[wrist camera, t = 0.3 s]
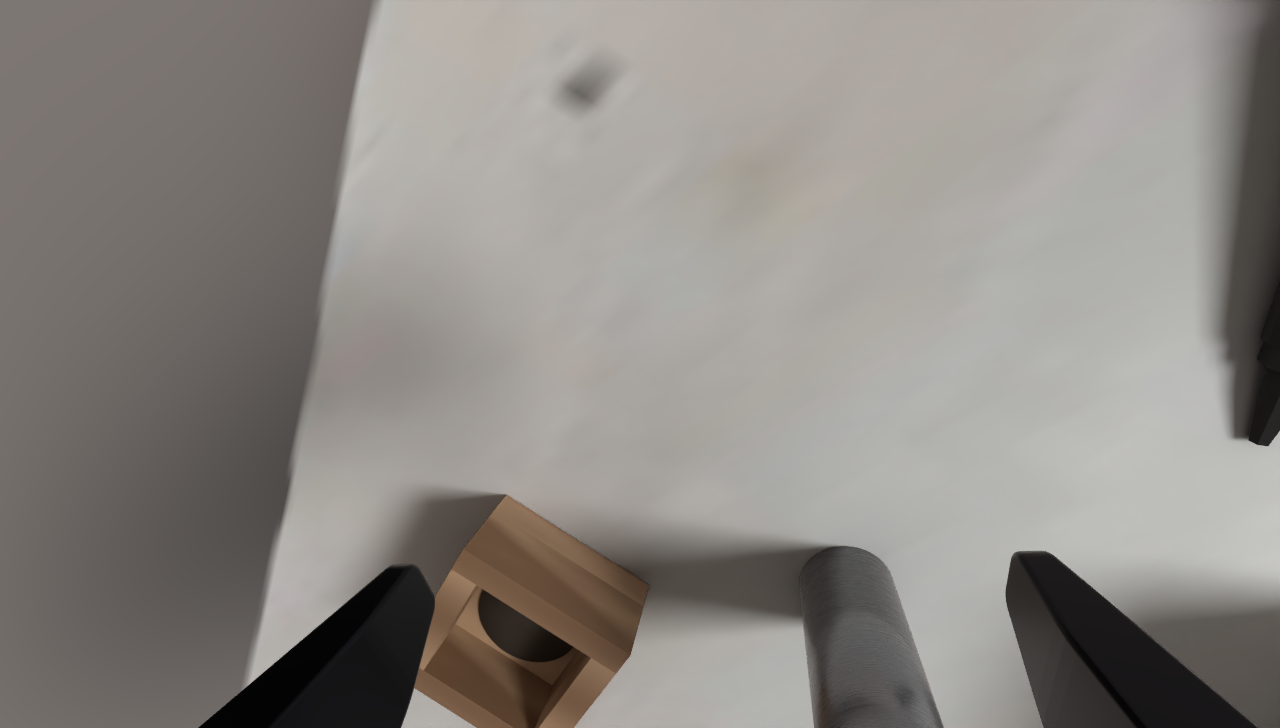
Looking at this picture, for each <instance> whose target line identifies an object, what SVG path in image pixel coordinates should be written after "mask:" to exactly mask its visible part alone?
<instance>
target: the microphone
mask: <svg viewBox="0 0 1280 728" xmlns="http://www.w3.org/2000/svg"><path fill="white" fill-rule="evenodd" d="M1261 338H1262V339H1263V340H1264V341H1265V343H1264V345H1263V347H1262V350H1261V352H1260V354H1259V356H1258V359H1257V360H1258V361H1260V362H1261V363H1262V364H1264V365H1265V366H1266V367H1267V368H1269V369H1268V372H1267V374H1266V377H1265V380H1264V383H1263V385H1262V388H1261V391H1260V394H1259V398H1258V403H1257V407H1256V411H1255V416H1254V420H1253V424H1252V428H1251V433H1250V437H1249V441H1251V442H1253V443H1255V444H1257V445H1263V446H1269V444H1270V443H1271V442H1272V440H1273V439H1274V438H1275V436H1276V435H1277V434H1278V432H1279V431H1280V284H1279V287H1278V289H1277V292H1276V295H1275V298H1274V301H1273V304H1272V307H1271V309H1270V312H1269V315H1268V318H1267V321H1266V324H1265V327H1264V330H1263V332H1262V335H1261Z"/></svg>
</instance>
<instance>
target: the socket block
mask: <svg viewBox="0 0 1280 728" xmlns="http://www.w3.org/2000/svg"><path fill="white" fill-rule="evenodd" d="M648 588H649V585H648V584H646V583H644V582H643V581H641V580H640V579H638V578H637V577H635V576H633V575H632V574H630V573H629V572H627V571H626V570H624V569H622V568H621V567H619V566H618V565H616V564H615V563H613V562H611V561H610V560H608V559H607V558H605V557H603V556H602V555H600V554H599V553H597V552H596V551H594V550H592V549H591V548H589V547H588V546H586V545H585V544H583V543H581V542H580V541H578V540H577V539H575V538H574V537H572V536H570V535H569V534H567V533H566V532H564V531H563V530H561V529H559V528H558V527H556V526H555V525H553V524H551V523H550V522H548V521H547V520H545V519H544V518H542V517H540V516H539V515H537V514H536V513H534V512H533V511H531V510H529V509H528V508H526V507H525V506H523V505H522V504H520V503H518V502H517V501H515V500H514V499H512V498H511V497H509V496H507V495H506V496H505V497H504V499H503V500H502V501H501V502H500V504H499V505H498V506H497V507H496V509H495V510H494V511H493V512H492V514H491V515H490V516H489V517H488V519H487V520H486V521H485V522H484V524H483V525H482V526H481V527H480V529H479V530H478V531H477V532H476V534H475V535H474V536H473V537H472V539H471V540H470V541H469V542H468V544H467V545H466V546H465V547H464V549H463V550H462V552H461V554H460V555H459V557H458V559H457V560H456V562H455V564H454V566H453V567H452V569H451V571H450V572H449V574H448V576H447V578H446V579H445V581H444V583H443V584H442V586H441V588H440V589H439V591H438V593H437V595H436V596H435V609H434V614H433V618H432V621H431V625H430V629H429V633H428V637H427V641H426V644H425V648H424V652H423V656H422V660H421V664H420V667H419V671H418V675H417V679H416V683H415V686H414V688H415V689H417V690H418V691H420V692H422V693H423V694H425V695H426V696H428V697H429V698H431V699H433V700H434V701H436V702H437V703H439V704H440V705H442V706H444V707H445V708H447V709H448V710H450V711H451V712H453V713H455V714H456V715H458V716H459V717H461V718H462V719H464V720H466V721H467V722H469V723H470V724H472V725H473V726H475V727H477V728H574V726H575V725H576V724H577V723H578V721H579V720H580V719H581V718H582V716H583V715H584V714H585V712H586V711H587V710H588V709H589V707H590V706H591V705H592V704H593V702H594V701H595V700H596V698H597V697H598V696H599V695H600V693H601V692H602V691H603V690H604V688H605V687H606V686H607V684H608V683H609V682H610V681H611V679H612V678H613V677H614V676H615V674H616V673H617V672H618V670H619V669H620V668H621V667H622V665H623V664H624V663H625V662H626V660H627V659H628V658H629V656H630V655H631V651H632V648H633V644H634V640H635V636H636V633H637V629H638V625H639V621H640V618H641V614H642V610H643V606H644V603H645V599H646V595H647V591H648Z"/></svg>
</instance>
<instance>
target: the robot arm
mask: <svg viewBox="0 0 1280 728" xmlns="http://www.w3.org/2000/svg"><path fill="white" fill-rule="evenodd" d="M1006 603H1007V607H1008V611H1009V614H1010V618H1011V621H1012V624H1013V628H1014V631H1015V634H1016V638H1017V641H1018V645H1019V648H1020V651H1021V655H1022V658H1023V661H1024V665H1025V668H1026V671H1027V675H1028V678H1029V681H1030V685H1031V688H1032V691H1033V695H1034V698H1035V701H1036V705H1037V708H1038V711H1039V714H1040V717H1041V720H1042V724H1043V726H1044V728H1259V727H1258V726H1257V725H1256V724H1254V723H1253V722H1252V721H1251V720H1250V719H1248V718H1247V717H1246V716H1245V715H1244V714H1242V713H1241V712H1240V711H1239V710H1238V709H1237V708H1235V707H1234V706H1233V705H1232V704H1231V703H1229V702H1228V701H1227V700H1226V699H1225V698H1223V697H1222V696H1221V695H1220V694H1219V693H1217V692H1216V691H1215V690H1214V689H1213V688H1211V687H1210V686H1209V685H1208V684H1207V683H1205V682H1204V681H1203V680H1202V679H1201V678H1200V677H1198V676H1197V675H1196V674H1195V673H1194V672H1192V671H1191V670H1190V669H1189V668H1188V667H1186V666H1185V665H1184V664H1183V663H1182V662H1180V661H1179V660H1178V659H1177V658H1176V657H1174V656H1173V655H1172V654H1171V653H1170V652H1168V651H1167V650H1166V649H1165V648H1164V647H1163V646H1161V645H1160V644H1159V643H1158V642H1157V641H1155V640H1154V639H1153V638H1152V637H1151V636H1149V635H1148V634H1147V633H1146V632H1145V631H1143V630H1142V629H1141V628H1140V627H1139V626H1137V625H1136V624H1135V623H1134V622H1133V621H1131V620H1130V619H1129V618H1128V617H1127V616H1125V615H1124V614H1123V613H1122V612H1121V611H1120V610H1118V609H1117V608H1116V607H1115V606H1114V605H1112V604H1111V603H1110V602H1109V601H1108V600H1106V599H1105V598H1104V597H1103V596H1102V595H1100V594H1099V593H1098V592H1097V591H1096V590H1094V589H1093V588H1092V587H1091V586H1090V585H1088V584H1087V583H1086V582H1085V581H1084V580H1083V579H1081V578H1080V577H1079V576H1078V575H1077V574H1075V573H1074V572H1073V571H1072V570H1071V569H1069V568H1068V567H1067V566H1066V565H1065V564H1063V563H1062V562H1061V561H1060V560H1059V559H1057V558H1056V557H1055V556H1054V555H1052V554H1050V553H1048V552H1046V551H1018V552H1015V553H1014V554H1013V555H1012V558H1011V562H1010V568H1009V574H1008V580H1007V585H1006ZM434 609H435V598H434V594H433V592H432V590H431V589H430V587H429V585H428V583H427V581H426V580H425V578H424V576H423V574H422V572H421V571H420V569H419V568H418V567H417V566H416V565H414V564H396V565H392V566H390V567H388V568H387V569H385V570H384V571H383V572H382V573H381V574H379V575H378V576H377V577H376V578H375V579H374V580H372V581H371V582H370V583H369V584H368V585H366V586H365V587H364V588H363V589H362V590H361V591H359V592H358V593H357V594H356V595H355V596H353V597H352V598H351V599H350V600H349V601H348V602H346V603H345V604H344V605H343V606H342V607H340V608H339V609H338V610H337V611H336V612H335V613H333V614H332V615H331V616H330V617H329V618H327V619H326V620H325V621H324V622H323V623H322V624H320V625H319V626H318V627H317V628H316V629H314V630H313V631H312V632H311V633H310V634H309V635H307V636H306V637H305V638H304V639H303V640H302V641H300V642H299V643H298V644H297V645H296V646H294V647H293V648H292V649H291V650H290V651H289V652H287V653H286V654H285V655H284V656H283V657H281V658H280V659H279V660H278V661H277V662H276V663H274V664H273V665H272V666H271V667H270V668H268V669H267V670H266V671H265V672H264V673H263V674H261V675H260V676H259V677H258V678H257V679H255V680H254V681H253V682H252V683H251V684H250V685H248V686H247V687H246V688H245V689H244V690H242V691H241V692H240V693H239V694H238V695H237V696H235V697H234V698H233V699H232V700H231V701H229V702H228V703H227V704H226V705H225V706H224V707H222V708H221V709H220V710H219V711H218V712H216V714H214V715H213V716H212V717H211V718H209V719H208V720H207V721H206V722H205V723H203V724H202V725H201V726H200V727H199V728H401V726H402V724H403V721H404V718H405V715H406V712H407V709H408V706H409V703H410V700H411V697H412V693H413V690H414V686H415V683H416V679H417V675H418V671H419V667H420V664H421V660H422V656H423V652H424V648H425V644H426V641H427V637H428V633H429V629H430V625H431V621H432V618H433V614H434Z"/></svg>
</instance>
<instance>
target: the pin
mask: <svg viewBox="0 0 1280 728" xmlns="http://www.w3.org/2000/svg"><path fill="white" fill-rule="evenodd" d="M799 589H800V598H801V608H802V617H803V627H804V636H805V645H806V655H807V664H808V674H809V683H810V693H811V702H812V712H813V721H814V728H944V727H943V724H942V721H941V718H940V715H939V712H938V710H937V707H936V704H935V701H934V698H933V695H932V692H931V689H930V686H929V683H928V680H927V678H926V675H925V672H924V669H923V666H922V663H921V660H920V657H919V654H918V651H917V648H916V645H915V643H914V640H913V637H912V634H911V631H910V628H909V625H908V622H907V619H906V616H905V613H904V610H903V608H902V605H901V602H900V599H899V596H898V593H897V590H896V587H895V584H894V581H893V578H892V576H891V573H890V571H889V570H888V568H887V566H886V565H885V564H884V563H883V562H882V561H881V560H880V559H879V558H878V557H876V556H875V555H873V554H871V553H870V552H867V551H865V550H862V549H859V548H854V547H835V548H830V549H827V550H824V551H822V552H820V553H818V554H816V555H815V556H814V557H812V558H811V559H810V560H809V561H808V562H807V563H806V565H805V566H804V568H803V570H802V572H801V575H800V579H799Z"/></svg>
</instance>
